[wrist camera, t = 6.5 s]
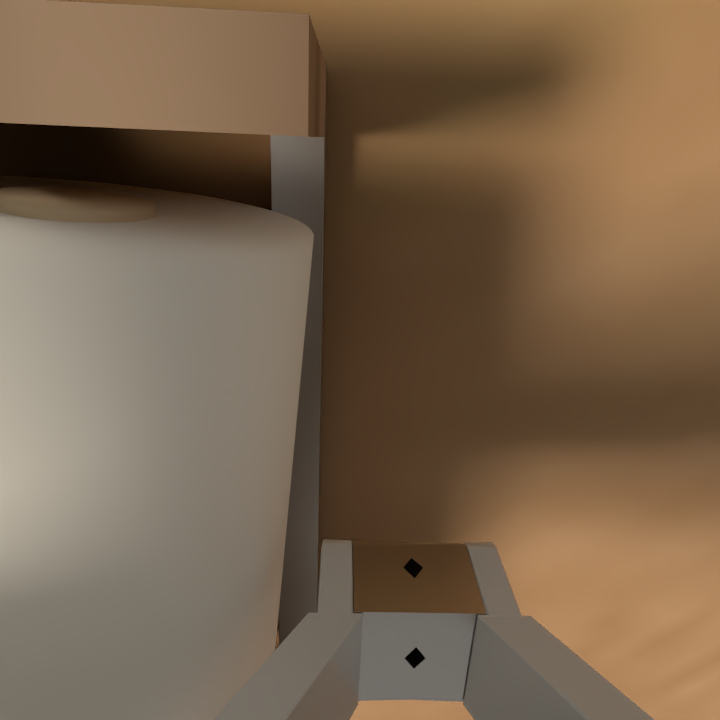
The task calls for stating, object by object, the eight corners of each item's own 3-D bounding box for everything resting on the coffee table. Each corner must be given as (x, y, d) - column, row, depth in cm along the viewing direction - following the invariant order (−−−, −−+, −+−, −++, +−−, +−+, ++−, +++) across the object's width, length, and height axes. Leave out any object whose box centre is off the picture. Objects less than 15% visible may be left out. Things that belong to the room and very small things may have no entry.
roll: (403, 258, 7) (240, 185, 12) (-503, 241, 4) (-172, 152, 9) (312, 844, 11) (222, 598, 17) (-125, 1076, 8) (-58, 676, 14)
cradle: (326, 68, 10) (301, -9, 5) (315, 681, 17) (299, 956, 11) (-231, 41, 10) (-942, -77, 5) (-31, 677, 16) (-229, 959, 11)
